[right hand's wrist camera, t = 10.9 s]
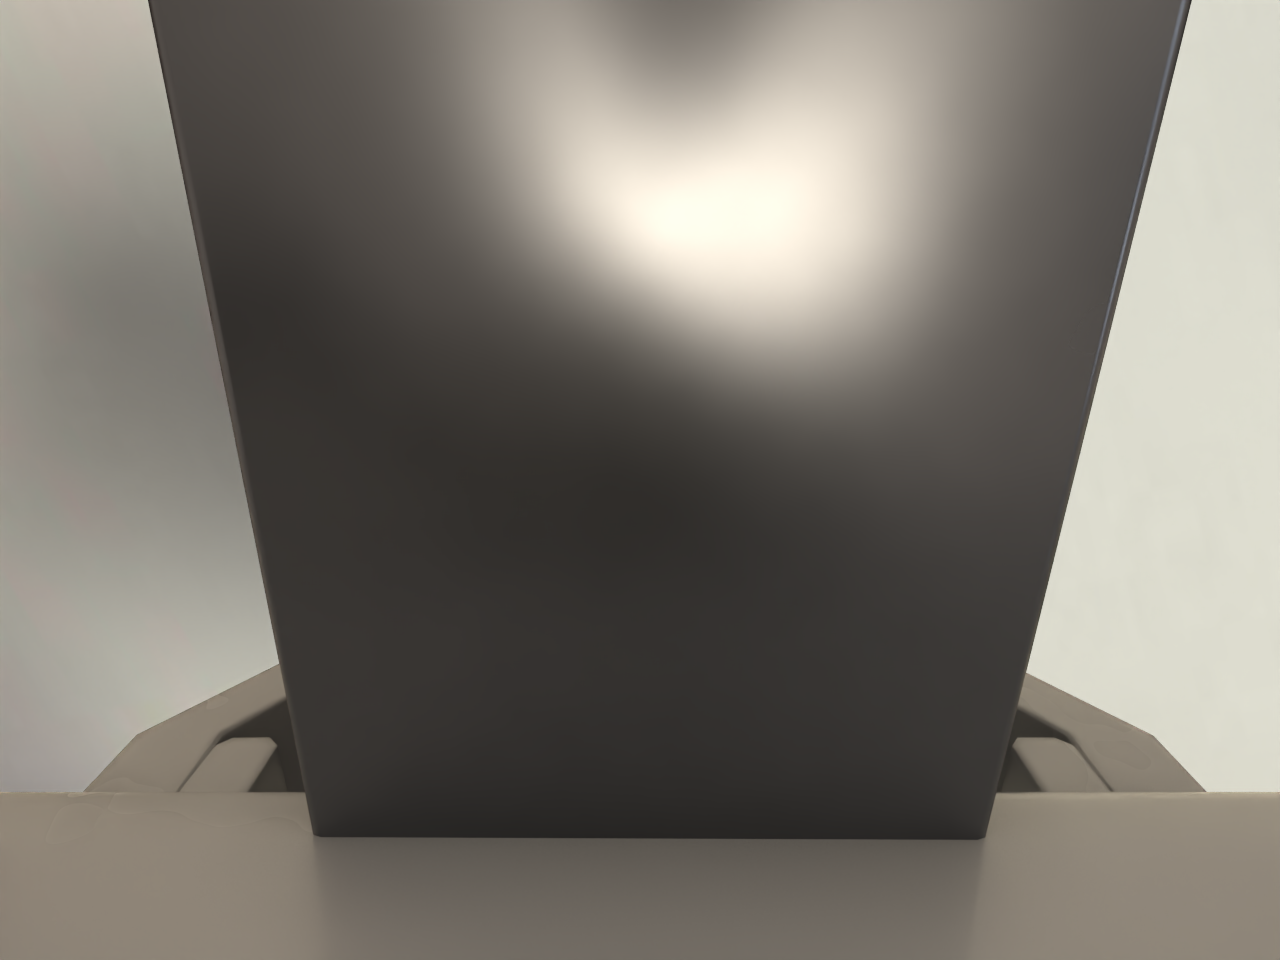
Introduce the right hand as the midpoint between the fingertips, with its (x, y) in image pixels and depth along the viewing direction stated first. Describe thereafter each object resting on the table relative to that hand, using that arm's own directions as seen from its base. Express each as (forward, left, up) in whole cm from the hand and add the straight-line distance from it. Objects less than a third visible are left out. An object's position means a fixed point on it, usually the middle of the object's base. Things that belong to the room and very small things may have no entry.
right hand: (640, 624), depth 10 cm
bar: (+2, +10, -4) cm, 11 cm away
